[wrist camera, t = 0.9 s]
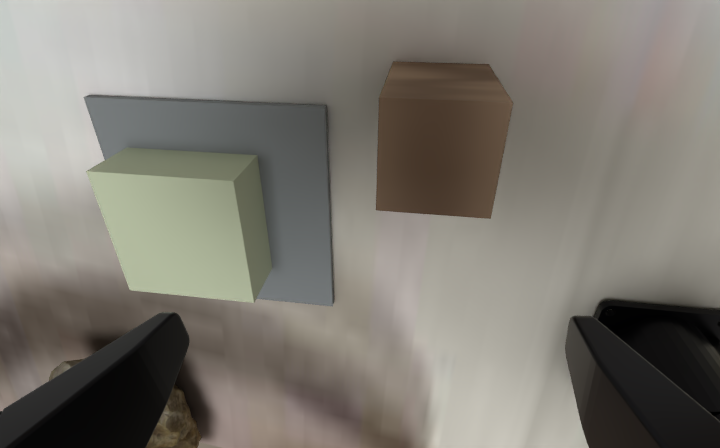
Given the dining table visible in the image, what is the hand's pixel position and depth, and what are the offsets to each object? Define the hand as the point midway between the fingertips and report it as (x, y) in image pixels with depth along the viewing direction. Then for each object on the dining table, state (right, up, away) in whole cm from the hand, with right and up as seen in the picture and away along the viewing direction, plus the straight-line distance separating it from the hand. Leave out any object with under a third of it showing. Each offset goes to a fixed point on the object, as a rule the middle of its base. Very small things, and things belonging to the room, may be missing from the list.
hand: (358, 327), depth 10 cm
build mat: (-7, +3, +14) cm, 16 cm away
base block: (-8, +3, +13) cm, 16 cm away
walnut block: (+3, +7, +9) cm, 12 cm away
